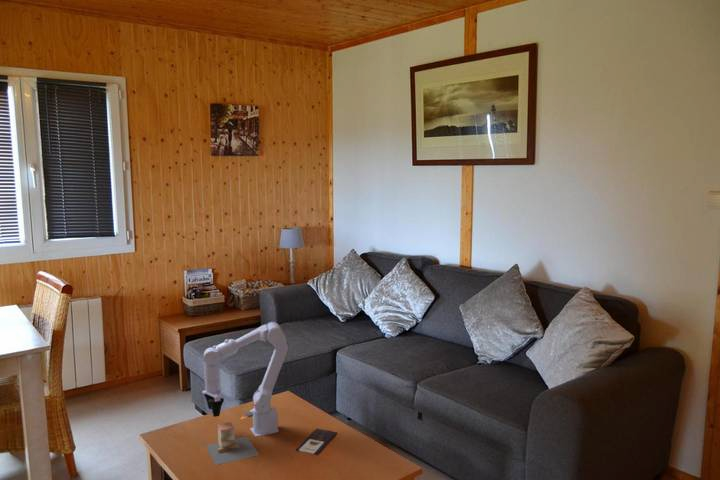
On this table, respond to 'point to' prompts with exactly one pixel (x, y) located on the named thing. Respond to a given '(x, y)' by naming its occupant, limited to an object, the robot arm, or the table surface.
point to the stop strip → (228, 448)
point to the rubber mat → (232, 451)
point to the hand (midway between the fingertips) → (214, 412)
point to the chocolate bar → (316, 441)
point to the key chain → (248, 414)
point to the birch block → (226, 435)
